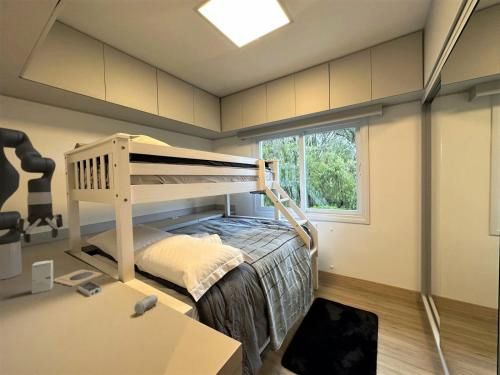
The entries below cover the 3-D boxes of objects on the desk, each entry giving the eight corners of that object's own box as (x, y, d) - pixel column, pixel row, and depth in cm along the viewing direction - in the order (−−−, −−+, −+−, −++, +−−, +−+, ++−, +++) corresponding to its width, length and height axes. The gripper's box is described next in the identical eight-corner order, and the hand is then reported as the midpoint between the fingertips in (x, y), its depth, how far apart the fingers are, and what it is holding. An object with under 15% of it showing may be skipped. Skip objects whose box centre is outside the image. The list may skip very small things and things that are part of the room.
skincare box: (31, 294, 85) (30, 265, 85) (35, 290, 88) (33, 262, 88) (51, 290, 88) (50, 262, 88) (54, 285, 92) (53, 259, 92)
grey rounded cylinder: (151, 304, 77) (161, 303, 75) (131, 316, 69) (141, 315, 67) (149, 293, 77) (158, 291, 75) (129, 303, 70) (138, 302, 68)
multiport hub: (90, 286, 91) (90, 281, 91) (102, 292, 85) (101, 286, 85) (78, 290, 87) (78, 285, 87) (89, 297, 82) (89, 291, 82)
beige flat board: (50, 281, 97) (50, 279, 97) (82, 270, 109) (81, 269, 109) (72, 286, 91) (72, 285, 91) (102, 274, 103) (102, 273, 103)
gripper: (55, 201, 96) (57, 235, 96) (12, 204, 83) (13, 243, 83) (65, 201, 93) (66, 236, 93) (21, 204, 80) (22, 245, 80)
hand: (41, 240), depth 88 cm, fingers open, 8 cm apart
